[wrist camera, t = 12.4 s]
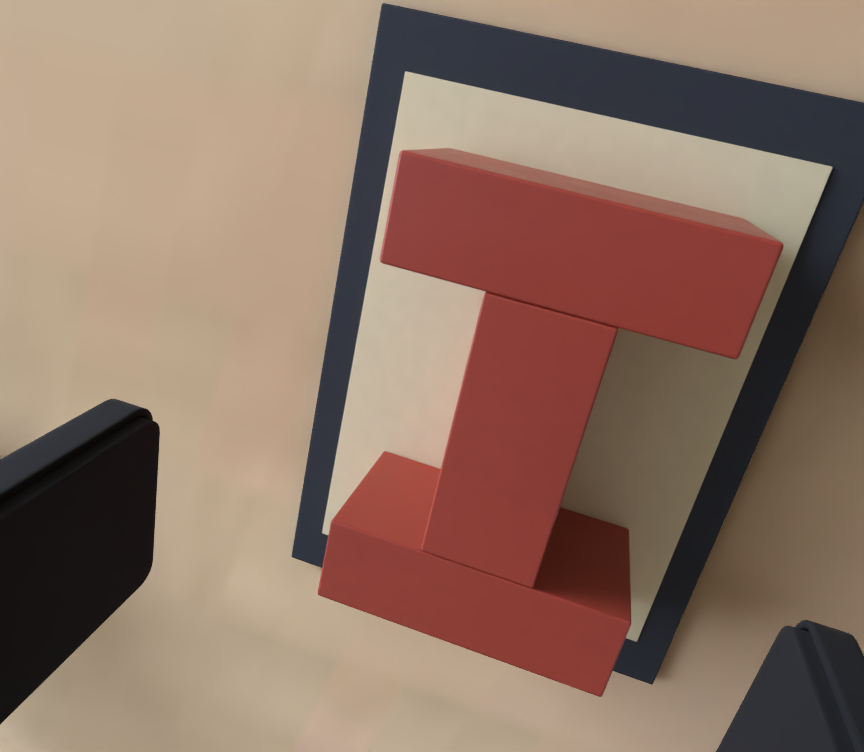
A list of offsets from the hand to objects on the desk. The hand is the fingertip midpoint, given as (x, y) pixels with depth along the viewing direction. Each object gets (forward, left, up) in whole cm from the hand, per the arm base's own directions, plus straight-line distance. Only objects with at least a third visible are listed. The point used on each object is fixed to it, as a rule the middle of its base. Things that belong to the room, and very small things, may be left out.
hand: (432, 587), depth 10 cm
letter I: (0, -1, -11) cm, 11 cm away
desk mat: (0, -1, -12) cm, 12 cm away
